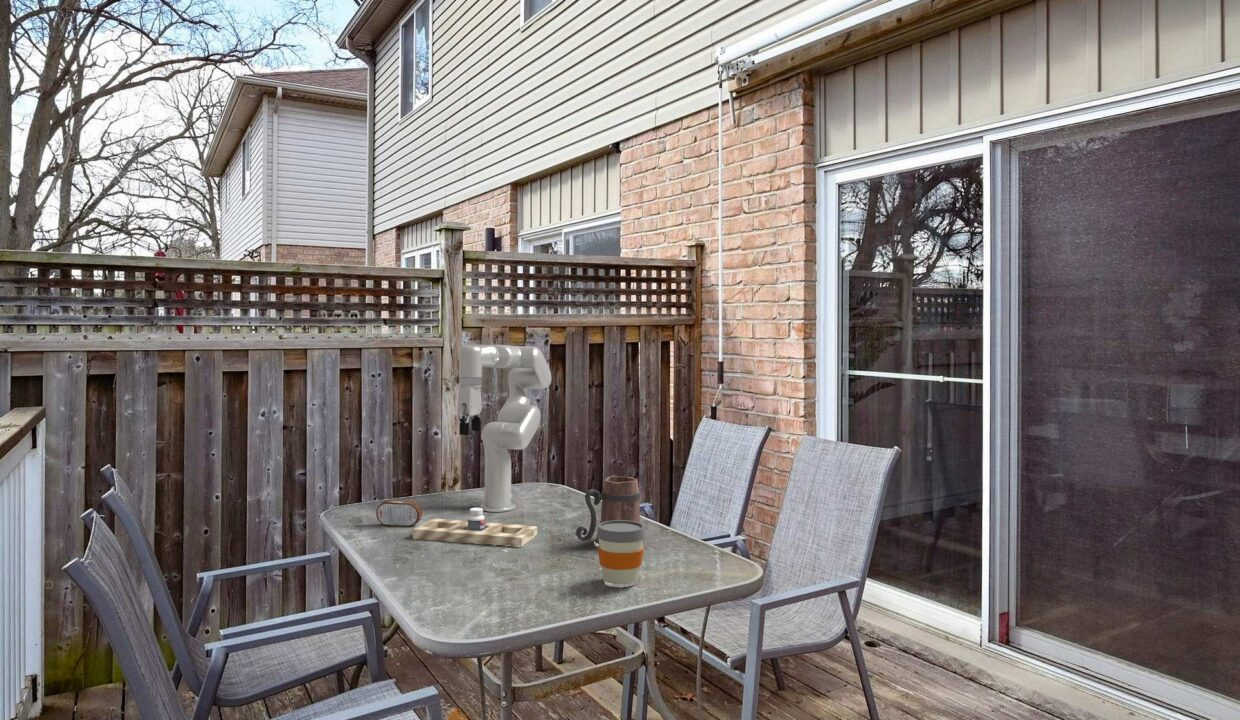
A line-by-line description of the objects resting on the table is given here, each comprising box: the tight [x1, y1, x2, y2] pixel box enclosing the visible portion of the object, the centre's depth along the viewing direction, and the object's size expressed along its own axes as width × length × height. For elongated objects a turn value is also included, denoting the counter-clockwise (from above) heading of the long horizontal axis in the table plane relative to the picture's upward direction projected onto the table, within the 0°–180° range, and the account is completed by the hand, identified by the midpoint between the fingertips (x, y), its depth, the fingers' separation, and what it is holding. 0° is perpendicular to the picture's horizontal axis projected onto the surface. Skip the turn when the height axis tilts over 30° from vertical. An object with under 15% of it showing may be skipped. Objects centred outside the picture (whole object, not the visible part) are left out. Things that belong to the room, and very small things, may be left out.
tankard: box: [575, 475, 645, 544], centre depth 241 cm, size 24×17×20 cm
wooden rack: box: [412, 517, 538, 547], centre depth 247 cm, size 36×14×3 cm, turn 77°
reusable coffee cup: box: [596, 520, 646, 584], centre depth 206 cm, size 13×13×15 cm
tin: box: [375, 499, 423, 527], centre depth 260 cm, size 15×3×8 cm, turn 84°
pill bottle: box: [467, 507, 486, 531], centre depth 248 cm, size 5×5×9 cm
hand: (470, 432), depth 266 cm, fingers open, 9 cm apart
